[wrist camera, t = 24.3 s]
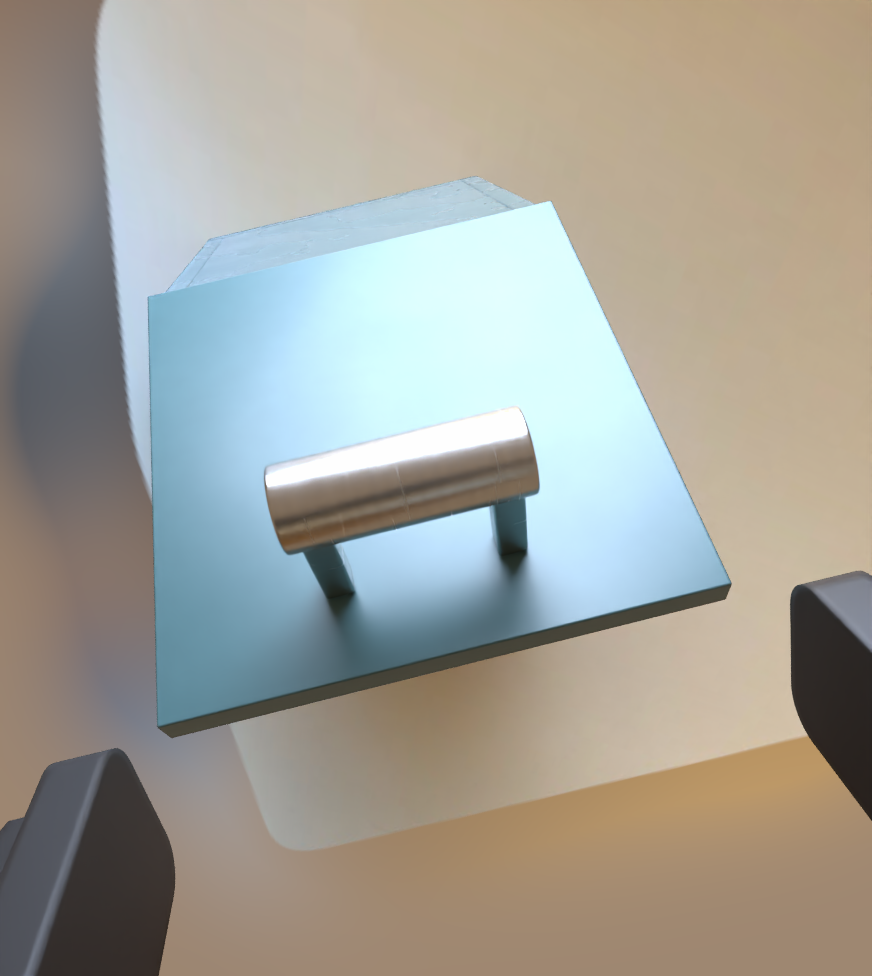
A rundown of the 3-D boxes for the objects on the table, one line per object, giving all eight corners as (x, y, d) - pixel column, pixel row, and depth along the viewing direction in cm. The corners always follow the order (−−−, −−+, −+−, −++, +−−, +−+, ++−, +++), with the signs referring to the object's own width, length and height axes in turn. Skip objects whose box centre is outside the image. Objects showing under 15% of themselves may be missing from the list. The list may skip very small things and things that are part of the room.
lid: (726, 600, 18) (779, 470, 14) (171, 739, 18) (54, 649, 14) (551, 221, 26) (551, 62, 22) (157, 315, 26) (79, 173, 21)
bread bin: (520, 425, 43) (596, 548, 31) (286, 482, 43) (273, 628, 31) (476, 175, 38) (547, 209, 26) (208, 239, 38) (155, 302, 26)
